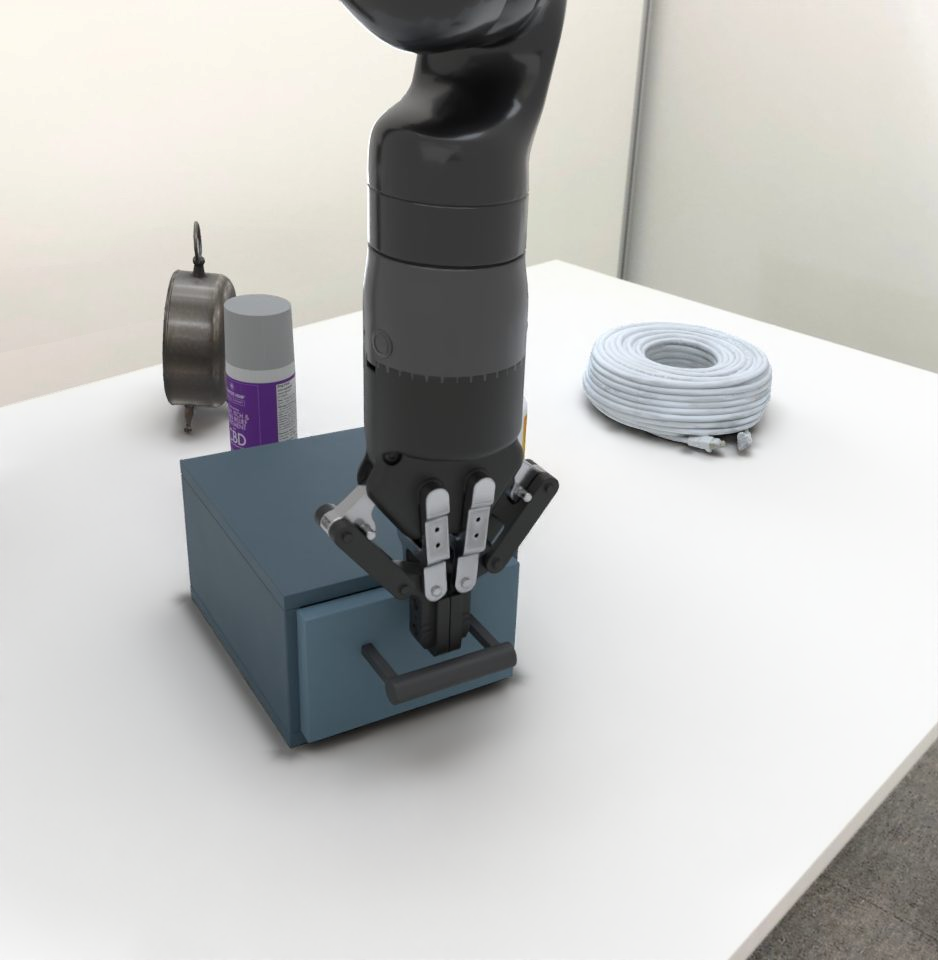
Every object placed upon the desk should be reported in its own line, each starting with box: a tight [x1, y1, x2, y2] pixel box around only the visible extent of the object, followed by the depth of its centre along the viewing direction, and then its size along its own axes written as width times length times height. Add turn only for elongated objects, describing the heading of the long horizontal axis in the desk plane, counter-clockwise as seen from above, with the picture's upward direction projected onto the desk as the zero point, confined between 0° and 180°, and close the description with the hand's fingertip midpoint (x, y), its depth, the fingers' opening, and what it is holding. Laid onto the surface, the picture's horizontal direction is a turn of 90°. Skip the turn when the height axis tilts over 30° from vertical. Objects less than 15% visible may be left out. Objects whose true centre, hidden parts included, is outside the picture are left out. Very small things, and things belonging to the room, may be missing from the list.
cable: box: [581, 321, 773, 453], centre depth 110 cm, size 18×18×6 cm
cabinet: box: [179, 426, 519, 749], centre depth 72 cm, size 17×14×10 cm
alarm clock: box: [161, 220, 237, 434], centre depth 97 cm, size 11×5×16 cm, turn 10°
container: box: [224, 293, 299, 451], centre depth 85 cm, size 5×5×15 cm
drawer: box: [296, 556, 521, 744], centre depth 69 cm, size 20×13×8 cm, turn 36°
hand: (438, 645), depth 63 cm, fingers closed
